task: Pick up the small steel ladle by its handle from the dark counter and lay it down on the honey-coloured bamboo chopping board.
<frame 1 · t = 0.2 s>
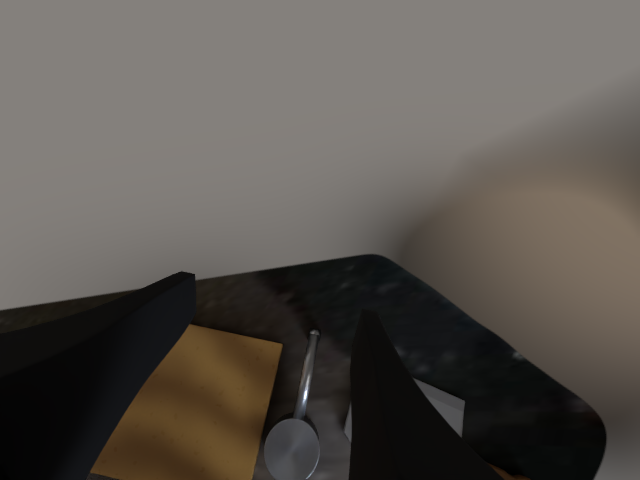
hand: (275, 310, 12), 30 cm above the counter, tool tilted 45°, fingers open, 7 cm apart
ladle: (293, 441, 36), on the counter
chopping board: (192, 400, 38), on the counter
kitchen cleaver: (437, 432, 37), on the counter
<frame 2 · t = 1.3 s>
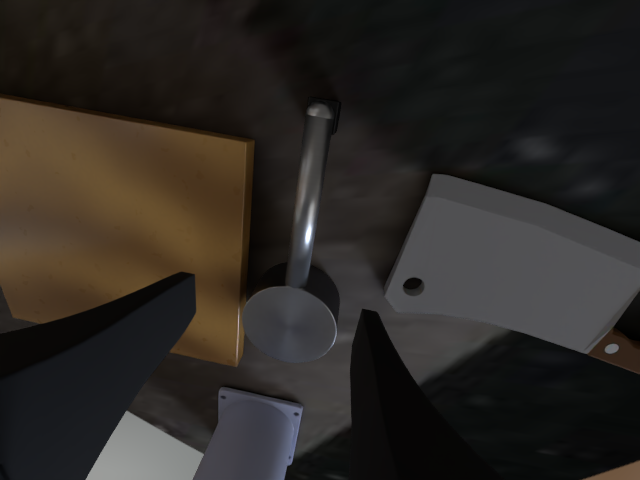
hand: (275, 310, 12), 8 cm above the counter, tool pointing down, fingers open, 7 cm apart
ladle: (297, 298, 22), on the counter
chopping board: (120, 239, 22), on the counter
kitchen cleaver: (568, 297, 19), on the counter
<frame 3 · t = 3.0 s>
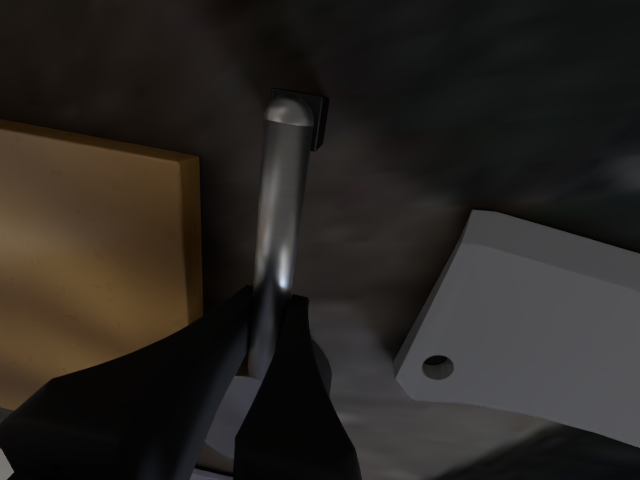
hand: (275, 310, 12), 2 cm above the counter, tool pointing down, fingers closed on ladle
ladle: (274, 369, 16), on the counter, touching gripper
chopping board: (29, 289, 16), on the counter
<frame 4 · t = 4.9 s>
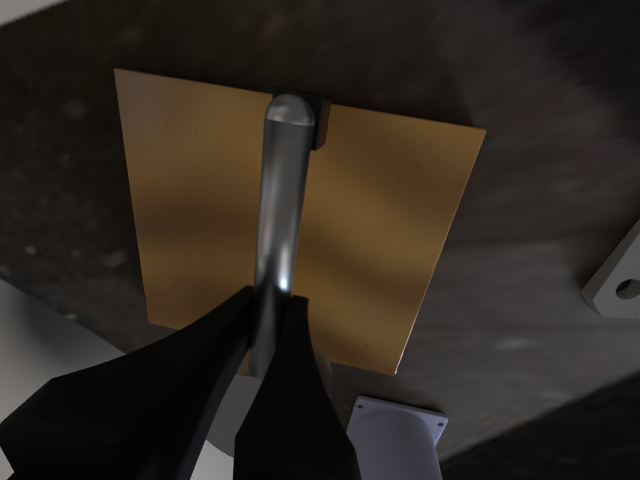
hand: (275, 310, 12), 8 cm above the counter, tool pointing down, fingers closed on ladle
ladle: (275, 369, 16), point 7 cm above the counter, touching gripper
chopping board: (284, 239, 20), on the counter
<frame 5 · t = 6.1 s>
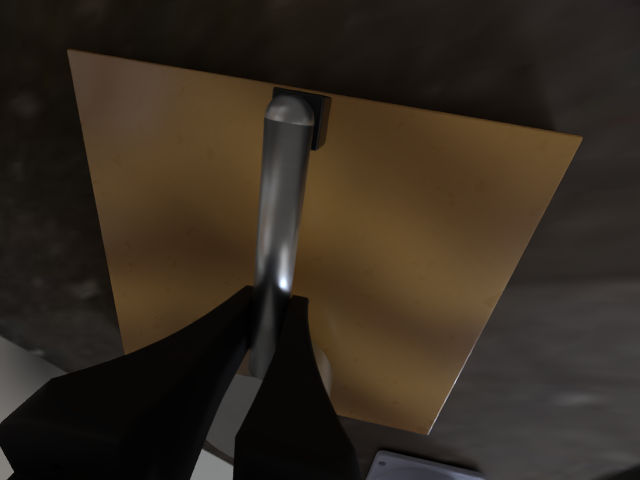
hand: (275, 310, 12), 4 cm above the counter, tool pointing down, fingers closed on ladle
ladle: (275, 369, 16), point 2 cm above the counter, touching gripper
chopping board: (294, 271, 16), on the counter
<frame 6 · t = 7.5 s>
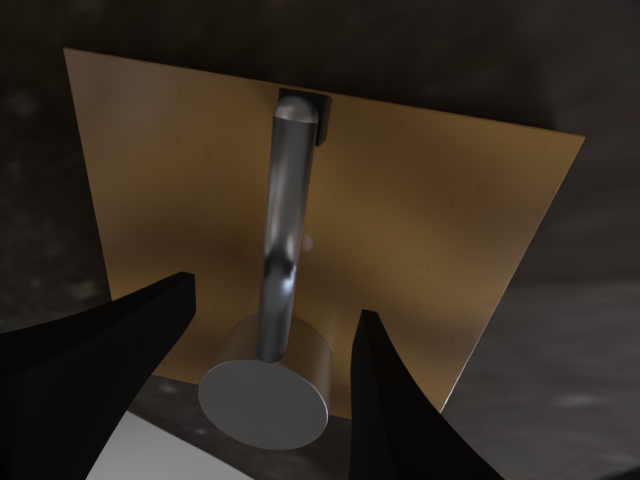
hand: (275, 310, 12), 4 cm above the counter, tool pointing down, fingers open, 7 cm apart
ladle: (278, 357, 17), point 1 cm above the counter, touching chopping board
chopping board: (293, 271, 16), on the counter
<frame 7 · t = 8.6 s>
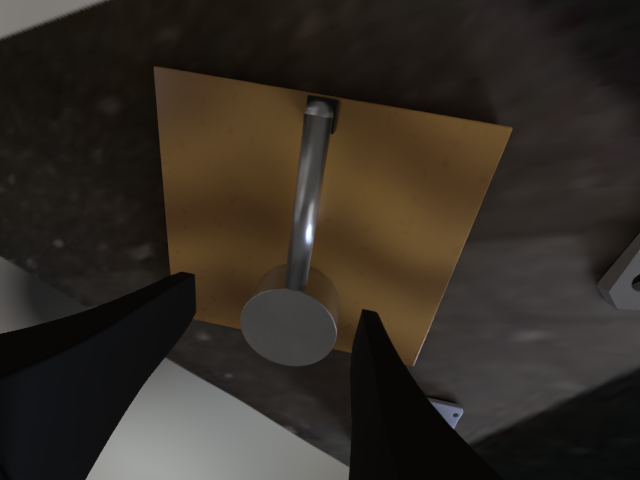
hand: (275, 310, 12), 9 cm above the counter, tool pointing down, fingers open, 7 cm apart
ladle: (297, 300, 22), point 1 cm above the counter, touching chopping board
chopping board: (309, 233, 21), on the counter
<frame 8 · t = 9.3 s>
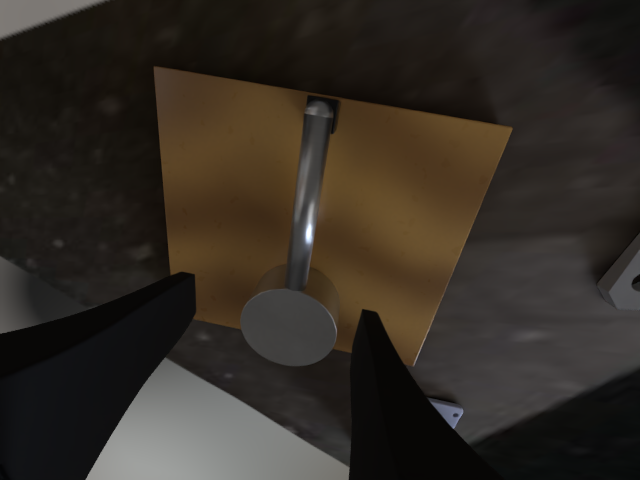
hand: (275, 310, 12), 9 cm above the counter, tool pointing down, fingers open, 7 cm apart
ladle: (297, 300, 22), point 1 cm above the counter, touching chopping board
chopping board: (309, 233, 21), on the counter
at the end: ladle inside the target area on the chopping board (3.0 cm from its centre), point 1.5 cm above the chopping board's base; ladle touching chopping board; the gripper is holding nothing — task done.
